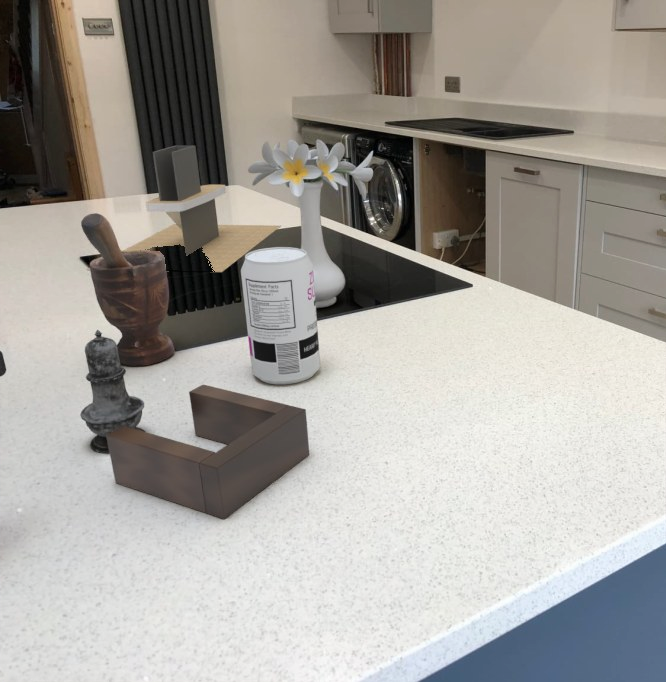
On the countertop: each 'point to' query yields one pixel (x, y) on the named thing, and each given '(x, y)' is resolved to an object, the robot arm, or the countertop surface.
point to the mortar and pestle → (130, 294)
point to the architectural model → (195, 212)
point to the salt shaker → (108, 393)
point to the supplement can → (281, 314)
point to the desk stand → (207, 466)
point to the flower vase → (313, 200)
